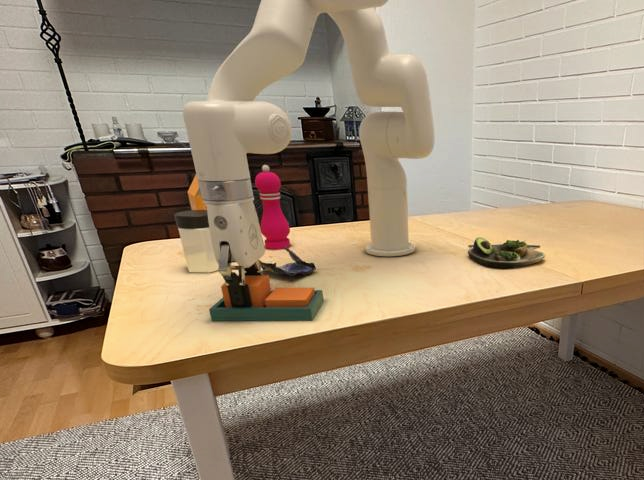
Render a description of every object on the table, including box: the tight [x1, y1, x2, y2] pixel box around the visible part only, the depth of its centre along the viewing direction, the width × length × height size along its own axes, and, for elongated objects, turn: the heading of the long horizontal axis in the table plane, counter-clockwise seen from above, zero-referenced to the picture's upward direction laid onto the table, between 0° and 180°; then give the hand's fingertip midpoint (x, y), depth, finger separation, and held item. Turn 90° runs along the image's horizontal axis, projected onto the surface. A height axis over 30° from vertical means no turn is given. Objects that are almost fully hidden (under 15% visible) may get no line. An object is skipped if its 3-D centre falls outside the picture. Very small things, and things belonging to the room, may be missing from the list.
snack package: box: [259, 246, 317, 281], centre depth 100 cm, size 12×6×12 cm
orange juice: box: [187, 173, 207, 210], centre depth 112 cm, size 8×9×20 cm
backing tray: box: [208, 289, 325, 322], centre depth 82 cm, size 10×17×2 cm, turn 92°
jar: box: [173, 209, 219, 274], centre depth 103 cm, size 9×8×12 cm
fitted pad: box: [265, 286, 316, 307], centre depth 81 cm, size 7×7×2 cm
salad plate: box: [467, 236, 546, 269], centre depth 114 cm, size 19×18×5 cm
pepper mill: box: [254, 164, 291, 250], centre depth 119 cm, size 7×7×20 cm
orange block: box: [220, 274, 272, 308], centre depth 81 cm, size 6×6×4 cm
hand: (248, 299), depth 81 cm, fingers closed on orange block, 5 cm apart
